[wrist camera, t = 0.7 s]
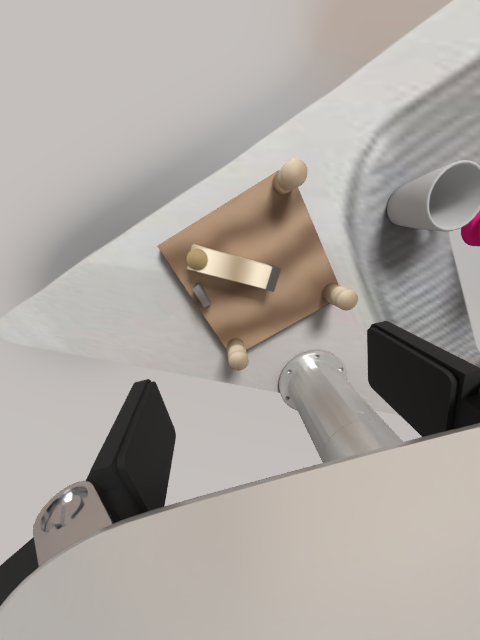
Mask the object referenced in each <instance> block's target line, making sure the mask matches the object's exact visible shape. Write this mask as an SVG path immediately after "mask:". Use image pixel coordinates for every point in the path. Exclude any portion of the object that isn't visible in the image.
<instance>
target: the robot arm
mask: <svg viewBox="0 0 480 640" xmlns="http://www.w3.org/2000/svg"><path fill="white" fill-rule="evenodd" d="M367 344H368V381H369V384H370V386H371V387H372V389H373V390H374V391H376V392H377V393H378V394H379V395H380V396H381V397H382V398H383V399H384V400H385V401H386V402H387V403H388V404H389V405H390V406H391V407H392V408H393V409H394V410H395V411H396V412H397V413H398V414H399V415H400V416H401V417H403V418H404V419H405V420H406V421H407V422H408V423H409V424H410V425H411V426H412V427H413V428H414V429H415V430H416V431H417V432H418V433H419V434H420V435H421V436H422V437H421V438H418V439H414V440H410V441H406V442H403V441H402V440H401V439H400V438H399V437H398V436H397V435H396V434H395V432H394V431H393V430H392V429H391V428H390V427H389V426H388V425H387V424H386V423H385V422H384V421H383V420H382V418H380V416H379V415H377V413H376V412H375V411H374V410H373V409H372V408H371V407H370V405H369V404H368V403H367V402H366V401H365V400H364V399H363V398H362V397H361V396H360V395H359V393H358V392H357V391H356V390H355V389H354V388H353V387H352V386H351V385H350V384H349V383H348V382H347V373H346V369H345V367H344V365H343V363H342V362H341V361H340V360H339V359H338V358H337V357H336V356H334V355H333V354H331V353H328V352H325V351H309V352H305V353H303V354H300V355H298V356H297V357H295V358H294V359H292V360H291V361H290V362H289V363H288V364H287V365H286V367H285V368H284V369H283V371H282V373H281V376H280V379H279V390H280V393H281V396H282V398H283V400H284V401H285V403H287V405H289V406H290V407H291V408H293V409H295V410H297V411H298V412H299V414H300V416H301V418H302V420H303V422H304V424H305V427H306V428H307V431H308V433H309V434H310V437H311V439H312V441H313V443H314V445H315V447H316V449H317V451H318V453H319V456H320V458H321V460H322V462H323V463H322V464H318V465H314V466H311V467H307V468H303V469H300V470H296V471H292V472H288V473H284V474H281V475H277V476H273V477H269V478H266V479H263V480H258V481H255V482H251V483H248V484H244V485H240V486H236V487H233V488H229V489H225V490H222V491H218V492H214V493H211V494H207V495H203V496H200V497H196V498H193V499H189V500H186V501H182V502H179V503H176V504H172V505H169V506H165V507H164V505H165V499H166V493H167V487H168V480H169V475H170V469H171V463H172V457H173V451H174V444H175V438H176V434H175V429H174V426H173V424H172V422H171V419H170V417H169V414H168V411H167V409H166V407H165V404H164V402H163V399H162V397H161V394H160V392H159V390H158V387H157V384H156V383H155V382H151V381H150V380H149V379H147V380H144V381H140V382H135V383H134V384H133V386H132V388H131V390H130V392H129V395H128V396H127V398H126V401H125V403H124V405H123V406H122V408H121V410H120V412H119V414H118V416H117V418H116V420H115V422H114V424H113V426H112V428H111V430H110V432H109V434H108V436H107V438H106V440H105V443H104V444H103V447H102V448H101V450H100V452H99V454H98V456H97V458H96V460H95V462H94V464H93V466H92V468H91V471H90V473H89V475H88V477H87V479H86V481H81V482H77V483H74V484H72V485H69V486H68V487H66V488H64V489H63V490H61V491H60V492H59V493H57V494H56V495H55V496H54V497H53V498H52V499H51V500H50V501H49V502H48V503H47V504H46V505H45V506H44V507H43V509H42V510H41V512H40V513H39V515H38V516H37V519H36V521H35V524H34V526H33V528H34V529H33V536H34V537H33V538H32V539H31V540H30V541H29V542H28V543H26V544H25V545H24V546H23V547H22V548H21V549H19V551H17V552H16V553H15V554H14V555H12V556H11V557H10V558H9V559H8V560H6V561H5V562H4V563H3V564H2V565H1V566H0V640H480V368H479V367H477V366H475V365H473V364H471V363H469V362H467V361H465V360H463V359H461V358H459V357H457V356H455V355H453V354H451V353H449V352H447V351H445V350H443V349H441V348H439V347H437V346H435V345H433V344H431V343H429V342H427V341H425V340H423V339H421V338H419V337H417V336H415V335H413V334H412V333H410V332H408V331H406V330H404V329H402V328H400V327H398V326H396V325H394V324H392V323H390V322H388V321H383V322H379V323H375V324H372V325H371V327H370V328H369V329H368V331H367Z"/></svg>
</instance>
